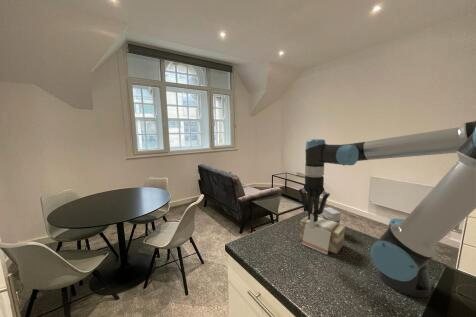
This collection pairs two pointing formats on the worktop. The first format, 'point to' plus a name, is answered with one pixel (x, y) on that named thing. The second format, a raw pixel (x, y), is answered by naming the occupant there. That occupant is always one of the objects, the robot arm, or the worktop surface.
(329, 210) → the ink box
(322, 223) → the ticket block
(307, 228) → the stub
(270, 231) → the worktop surface
